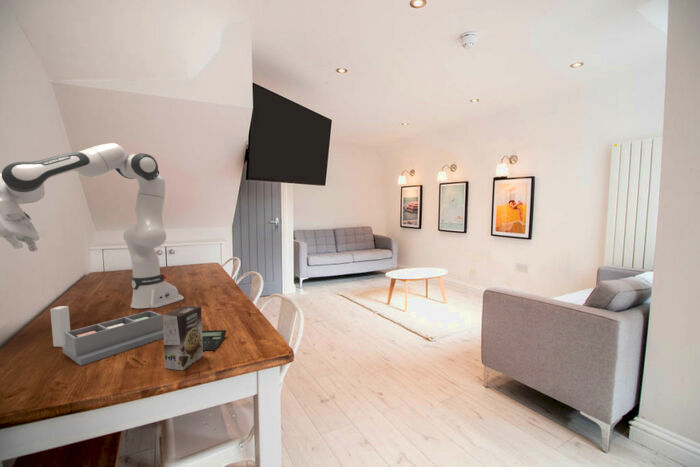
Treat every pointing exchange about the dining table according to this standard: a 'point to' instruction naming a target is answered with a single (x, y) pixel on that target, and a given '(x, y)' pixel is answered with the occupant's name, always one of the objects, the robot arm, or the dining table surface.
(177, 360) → the coffee box
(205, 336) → the calculator
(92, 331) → the key coral
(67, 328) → the light grey bar
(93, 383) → the dining table surface
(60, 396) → the dining table surface
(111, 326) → the key cream
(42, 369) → the dining table surface
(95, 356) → the keypad
